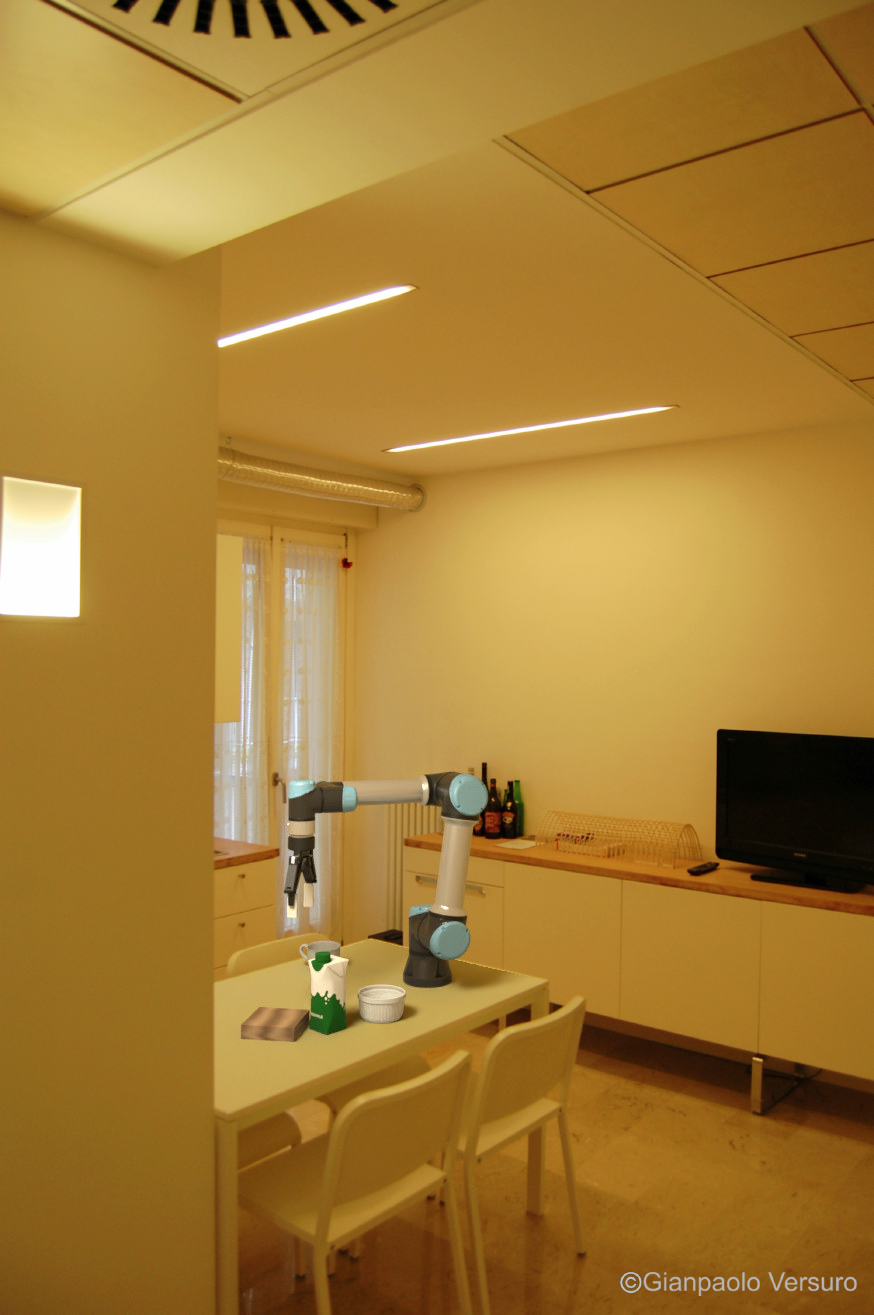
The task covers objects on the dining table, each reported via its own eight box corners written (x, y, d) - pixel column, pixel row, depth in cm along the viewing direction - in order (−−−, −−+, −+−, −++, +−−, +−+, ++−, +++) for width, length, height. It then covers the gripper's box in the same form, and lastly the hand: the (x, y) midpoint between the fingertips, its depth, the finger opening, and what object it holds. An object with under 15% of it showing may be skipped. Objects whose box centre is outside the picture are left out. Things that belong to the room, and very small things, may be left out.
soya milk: (304, 1029, 252) (305, 952, 253) (330, 1020, 259) (330, 945, 259) (326, 1037, 246) (327, 958, 247) (352, 1028, 253) (352, 951, 254)
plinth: (309, 1025, 256) (309, 1010, 256) (293, 1044, 242) (294, 1028, 243) (259, 1022, 258) (259, 1007, 259) (240, 1040, 245) (241, 1024, 245)
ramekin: (414, 1014, 264) (415, 989, 264) (388, 1029, 252) (388, 1002, 253) (375, 1006, 271) (375, 981, 271) (347, 1020, 259) (347, 994, 259)
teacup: (347, 968, 307) (347, 943, 308) (325, 977, 298) (326, 951, 298) (313, 962, 315) (313, 937, 315) (291, 970, 305) (291, 944, 306)
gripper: (303, 828, 281) (302, 901, 280) (272, 841, 257) (271, 921, 256) (328, 829, 280) (327, 903, 279) (299, 842, 255) (298, 923, 254)
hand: (300, 912), depth 267 cm, fingers open, 13 cm apart
